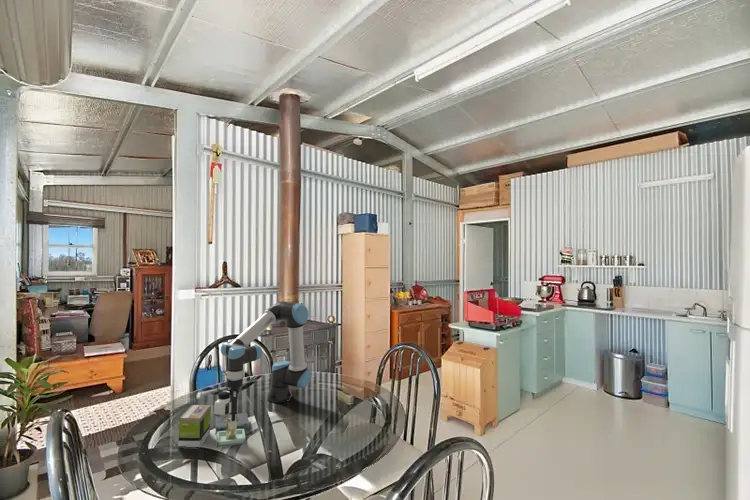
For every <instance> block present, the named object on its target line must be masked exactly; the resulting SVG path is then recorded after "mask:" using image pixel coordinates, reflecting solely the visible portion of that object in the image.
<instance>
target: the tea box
mask: <svg viewBox="0 0 750 500" xmlns="http://www.w3.org/2000/svg"><path fill="white" fill-rule="evenodd" d="M211 414H212V405H210V404H203V405H201V404H191V405H190V406H189V408H188V409H187V410H185V412H184V413H183V414H182V415H181V416H180V417H179V420H178V421H179V423H178V439H177V440H178V442H177V447H178V446H186V447H199V448H201V446H202V445H201V444H204V442H205V440H206V439H207V438H208V436H209V435H210V433H211V419H212V418H211V416H212V415H211ZM206 437H207V438H206ZM203 441H204V442H203ZM200 445H201V446H200Z"/></svg>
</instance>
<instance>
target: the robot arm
mask: <svg viewBox="0 0 750 500" xmlns="http://www.w3.org/2000/svg"><path fill="white" fill-rule="evenodd" d="M309 314H310V313H309V310H308V308H307V306H305V305H304V304H301V303H297V302H289V301H279V302H276V303H275V304H272V305H271V306H269V307H267V308H266V309H265V310H264V311H263V313H262V315H261V316H259V317H258V318H257V319H256V320H255V321H254V322H252V323H251V324H250V325H249V326H248V327H246V329H245V330H243V331H242V332H241V333H240V334H238V336H237V337H236V336H235V337H236V338H234V339H233V340H232V341H226V342H223V343H222V344H221V346H220V353H221V355H223V356H225V357H227V371H226V372H225V374H226V384H225V385H226V388H228V389H229V392H230V397H229V398H230V403H229V413H228V415H230V427H236V414H238V398H239V397H238V396H239V388H241V387H242V386H243V381H244V379H243V377H244V369H245V368H244V365H246V364H248V363H252V362H255V361H258V360H259V359H261V357H262V356H263V350H262V348H261V347H260V345H252V346H249V345H250V344H251V343H252V342H253V341H254V340H255V339H257V338H258V337H259V336H260V335H261V334H262V333H264V331H266V330H267V329H268V328H269V327H270V326H271V325H274V324H275V323H277V322H279V321H282V322H285V327H286V328H287V329H288V330H287V331H288V342H289V355H290V356H289V359H290V360H289V361H288V360H287V361H285V360H283V361H277V362H274V363H273V364H272V367H271V368H272V369H271V381H270V383H271V384H270V388H269V390H268V393H267V396H266V397H267V398H266V399H267V401H268V400H269V401H268V402H270V401H271V402H270V403H273V404H282V402H283V403H286V402H285V401H287V400H289V399H291V400H292V398H291V397H293V396H292V395H293V394H292V391H291V390H292V389H291V387H290V386H292V387H294V388H297V389H305V388H306V387H308V385H309V384H310V382H311V380H312V377H313V371H312V370H311V369H309V368H308V363H307V362H305V360H306V359H305V346H304V326H305V325H306V323H307V322H308V318H309ZM289 401H290V400H289ZM287 402H288V401H287Z"/></svg>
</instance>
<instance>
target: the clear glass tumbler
mask: <svg viewBox="0 0 750 500" xmlns="http://www.w3.org/2000/svg"><path fill="white" fill-rule="evenodd" d="M237 420H238V417H237V416H236V427H230V416H229V417H227V418H226V421H227V423H226V438H225V439H226V440H232V439H236V432H237Z"/></svg>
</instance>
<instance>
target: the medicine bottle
mask: <svg viewBox="0 0 750 500" xmlns="http://www.w3.org/2000/svg"><path fill="white" fill-rule="evenodd" d="M229 397H230V390H229V391H228V390H222V391H219V393H218V399H217V400H216V401H214V410H213V414H214V415H216V416H220V415H229V403H230V398H229Z"/></svg>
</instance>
